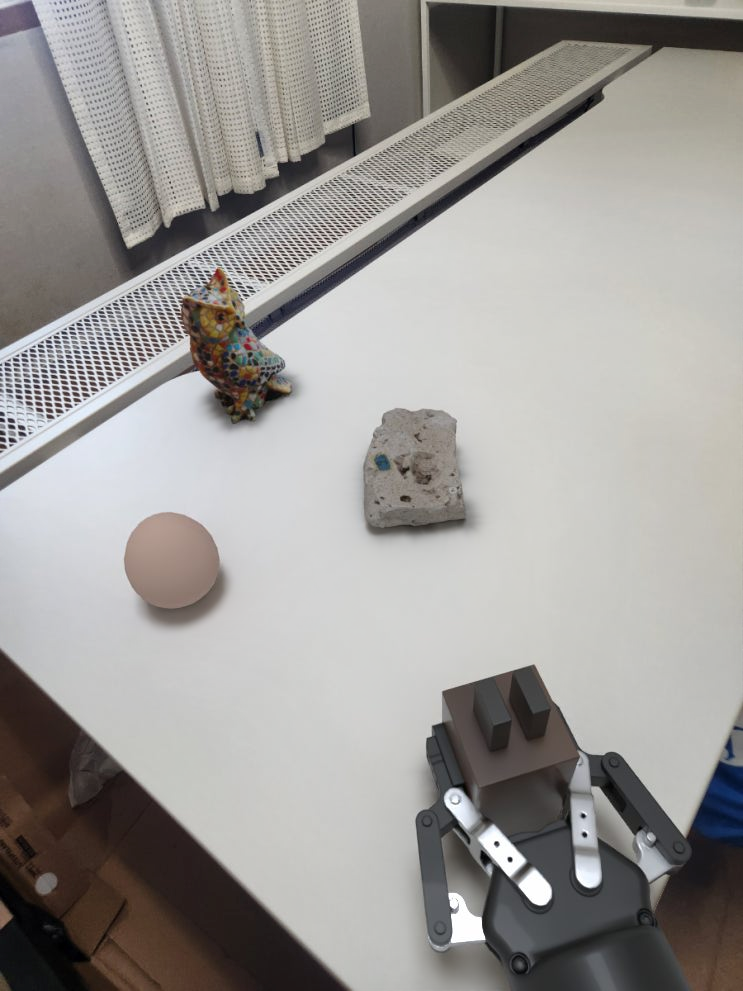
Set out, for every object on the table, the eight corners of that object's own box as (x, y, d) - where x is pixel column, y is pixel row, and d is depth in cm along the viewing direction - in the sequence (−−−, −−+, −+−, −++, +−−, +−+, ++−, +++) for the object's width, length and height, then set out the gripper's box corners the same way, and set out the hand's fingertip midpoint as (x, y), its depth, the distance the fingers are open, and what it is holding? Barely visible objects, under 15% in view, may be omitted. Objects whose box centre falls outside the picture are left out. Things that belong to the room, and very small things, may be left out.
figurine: (291, 421, 70) (263, 291, 59) (206, 430, 70) (162, 302, 59) (292, 373, 76) (266, 246, 65) (213, 381, 76) (175, 256, 65)
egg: (159, 555, 59) (126, 489, 53) (238, 557, 58) (214, 490, 52) (131, 625, 54) (91, 561, 48) (216, 629, 53) (187, 564, 47)
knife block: (518, 746, 45) (540, 634, 35) (554, 829, 41) (590, 730, 31) (441, 770, 44) (441, 662, 34) (471, 856, 41) (480, 764, 30)
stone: (466, 523, 54) (346, 504, 56) (460, 555, 59) (349, 537, 60) (483, 399, 61) (375, 384, 62) (476, 437, 66) (376, 423, 67)
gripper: (822, 1010, 26) (607, 648, 38) (478, 1142, 25) (362, 721, 36) (758, 1031, 32) (587, 709, 43) (472, 1141, 30) (373, 774, 42)
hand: (485, 716), depth 40 cm, fingers closed on knife block, 5 cm apart
